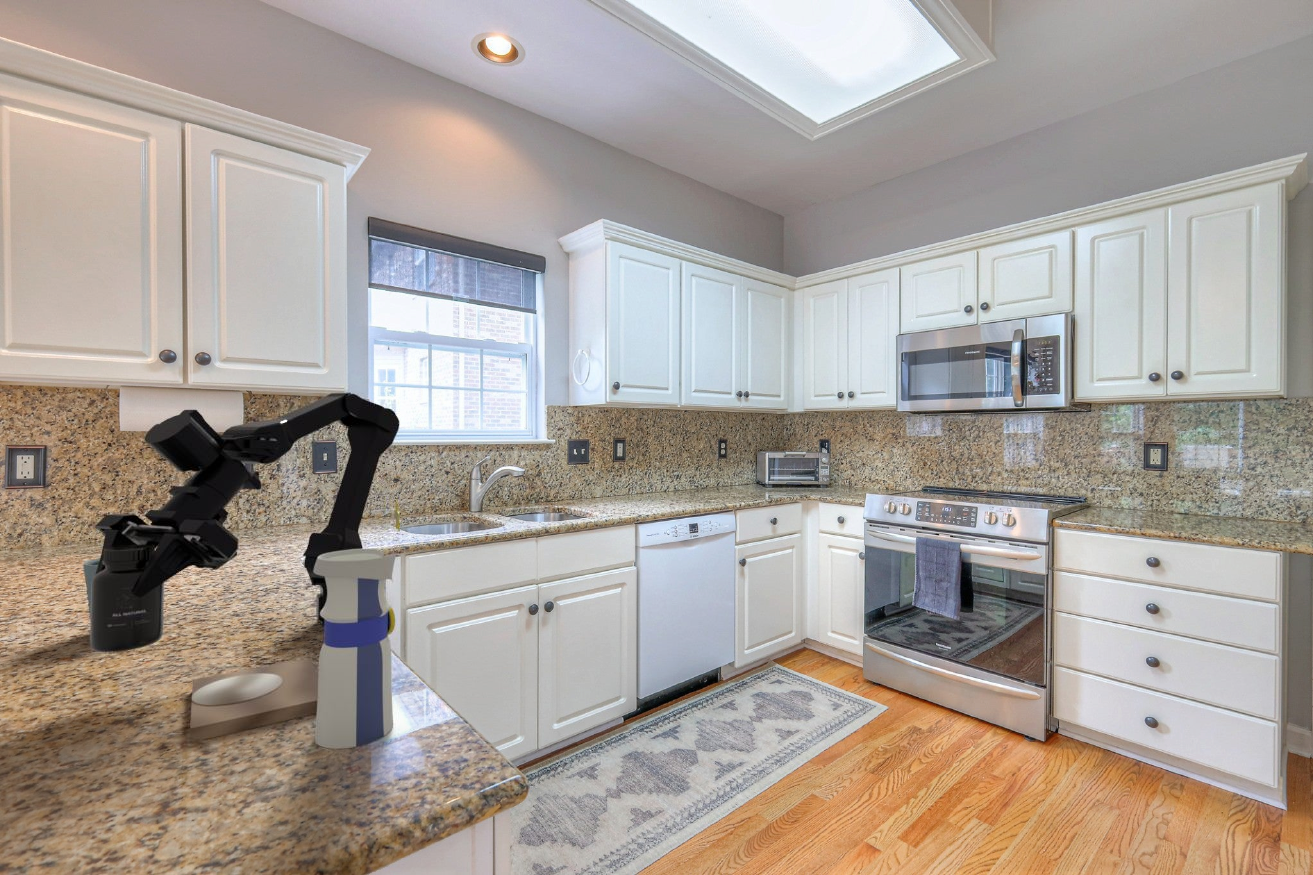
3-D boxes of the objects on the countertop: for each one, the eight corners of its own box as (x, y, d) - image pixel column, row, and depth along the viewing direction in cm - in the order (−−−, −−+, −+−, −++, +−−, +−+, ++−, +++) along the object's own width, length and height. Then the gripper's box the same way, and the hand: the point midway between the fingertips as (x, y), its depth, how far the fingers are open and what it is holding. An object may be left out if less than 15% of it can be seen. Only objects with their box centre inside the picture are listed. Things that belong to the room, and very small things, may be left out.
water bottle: (374, 706, 72) (376, 497, 72) (410, 727, 66) (413, 502, 67) (299, 731, 65) (301, 502, 66) (332, 757, 60) (335, 508, 60)
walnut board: (310, 668, 83) (310, 656, 83) (329, 710, 71) (329, 695, 71) (192, 691, 76) (192, 677, 76) (189, 742, 63) (190, 726, 63)
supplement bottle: (120, 656, 70) (120, 553, 70) (74, 651, 72) (74, 551, 72) (178, 636, 77) (178, 543, 77) (135, 633, 78) (135, 541, 78)
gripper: (294, 532, 86) (219, 632, 76) (198, 526, 92) (115, 619, 81) (243, 481, 79) (151, 585, 68) (141, 478, 84) (41, 573, 73)
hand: (115, 593), depth 73 cm, fingers closed on supplement bottle, 7 cm apart
